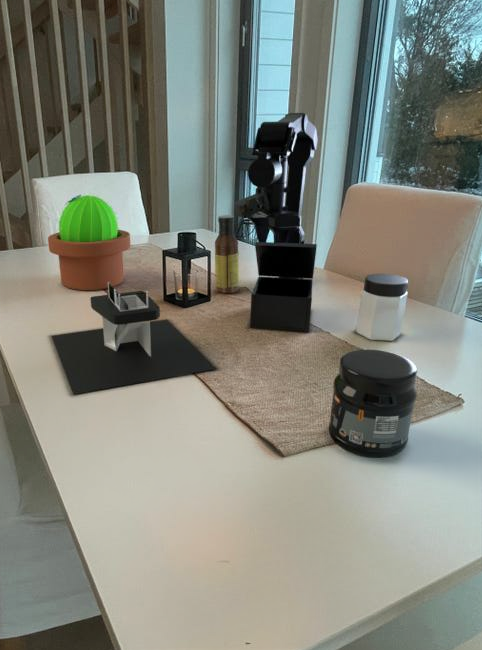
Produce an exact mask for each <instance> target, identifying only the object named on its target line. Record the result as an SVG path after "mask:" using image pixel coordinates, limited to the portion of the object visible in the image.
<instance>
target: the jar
mask: <svg viewBox="0 0 482 650" xmlns="http://www.w3.org/2000/svg"><path fill="white" fill-rule="evenodd" d="M408 283H409V280H408V279H407V278H406V277H403V276H400V275H397V274H389V273H373V274H369V275H366V276H365V278H364V285H363V289H362V290H361V292H360V300H359V308H358V315H357V321H356V323H357V324H356V330H355V331H356V333H357V334H359V335H361V336H363V337H365V338H366V339H368V340H370V341H388V342H389V341H390V342H393V341H395V340H396V339H397V338H398V337H400V335H401V333H402V329H403V321H404V316H405V310H406V304H407V300H408V299H407V298H408V291H407V290H408V287H409V286H408V285H409V284H408Z"/></svg>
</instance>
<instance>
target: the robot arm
mask: <svg viewBox="0 0 482 650" xmlns="http://www.w3.org/2000/svg"><path fill="white" fill-rule="evenodd" d="M318 140H319V138H318V131H317V127H316V126H315V125H314V124H313V123H312V122H311V121H309V118H308V114H307V113H305V112H288V113H286V114H285V115H284V116H283V117H282V118H280V119H279V120H277V121H263V122H261V124H260V126H259V127H258V128H257V130H256V135H255V139H254V143H253V147H252V152H251V156H255V157H257V158H256V159H255V160H253V161H252V162H251V163H250V165H249V166H248V170H247V176H248V180H249V182H250V183H251V184H252V186H255V193H254V194H250V195H248V196H246V197H243V198H242V199H239V200H237V201H235V202H234V207H235V211H236V214H237V216H238V217H239V218H242V219H245V220H246V219H247V220H249V221H250V222H251V223H252V224H253V226H254V229H255V233H256V237H257V242H268V237H269V234H270V231H271V232H272V235H273V243H299V244H307V240H305V239H306V233H305V231H304V229H303V227H302V210H303V201H304V192H305V191H304V190H305V182H306V173H307V167H308V166H309V164H310V163H311V162H312V160H313V159H314V155H315V151H316V150H317V148H318ZM281 278H291V277H281ZM299 279H304V278H299Z"/></svg>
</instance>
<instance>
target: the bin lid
mask: <svg viewBox="0 0 482 650" xmlns="http://www.w3.org/2000/svg"><path fill="white" fill-rule="evenodd" d="M317 246H318V243H306V244H299V243H274V241H273V242H271V241H266V242H258V241H255V242H254V249H255V256H256V265H257V273H258V277H259V276H262V277H291V278H303V279H313V280H314V272H315V264H316V256H317V248H318V247H317Z"/></svg>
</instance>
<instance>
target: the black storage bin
mask: <svg viewBox="0 0 482 650" xmlns="http://www.w3.org/2000/svg"><path fill="white" fill-rule="evenodd" d="M313 282H314V278H313V279H309V278H303V279H299V278H281V277H272V276H259V275H258V277H257V280H256V281H255V284H254V287H253V290H252V291H251V295H250V297H251V298H250V314H249V315H250V317H249V328H250V329H255V330H256V329H257V330H269V331H270V330H271V331H282V332H293V333H294V332H295V333H308V334H309V333H310V324H311V323H310V322H311V314H312V304H313V303H312V302H313V285H314V283H313Z"/></svg>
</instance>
